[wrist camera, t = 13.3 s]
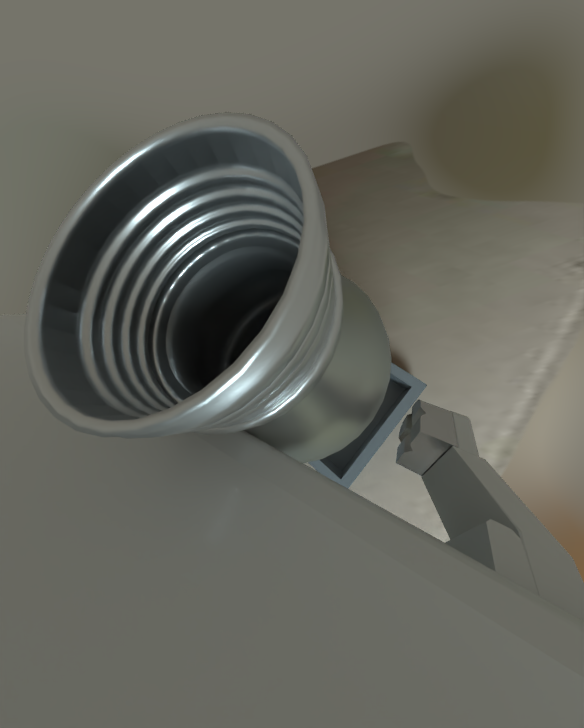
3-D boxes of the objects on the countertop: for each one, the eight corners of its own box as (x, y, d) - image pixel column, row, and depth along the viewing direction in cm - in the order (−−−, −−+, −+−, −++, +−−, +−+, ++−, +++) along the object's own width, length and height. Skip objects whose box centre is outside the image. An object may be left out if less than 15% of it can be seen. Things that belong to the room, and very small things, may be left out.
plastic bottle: (284, 403, 22) (-106, 358, 3) (321, 350, 22) (161, 8, 3) (336, 443, 20) (88, 1075, 1) (376, 385, 20) (827, -24, 1)
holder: (343, 482, 20) (342, 495, 17) (260, 406, 23) (248, 406, 20) (415, 388, 20) (427, 385, 17) (321, 327, 23) (318, 316, 20)
